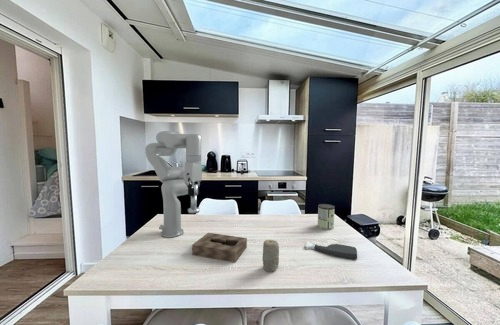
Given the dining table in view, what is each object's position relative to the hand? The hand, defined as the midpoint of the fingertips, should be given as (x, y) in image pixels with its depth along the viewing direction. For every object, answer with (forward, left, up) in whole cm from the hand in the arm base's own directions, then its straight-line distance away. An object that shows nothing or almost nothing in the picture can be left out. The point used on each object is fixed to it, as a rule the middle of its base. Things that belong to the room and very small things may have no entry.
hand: (193, 194), depth 116 cm
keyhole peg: (0, 0, -9) cm, 9 cm away
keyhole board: (+15, 0, -27) cm, 31 cm away
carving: (+42, -8, -27) cm, 51 cm away
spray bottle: (+67, +18, -28) cm, 75 cm away
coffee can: (+65, +54, -27) cm, 89 cm away
